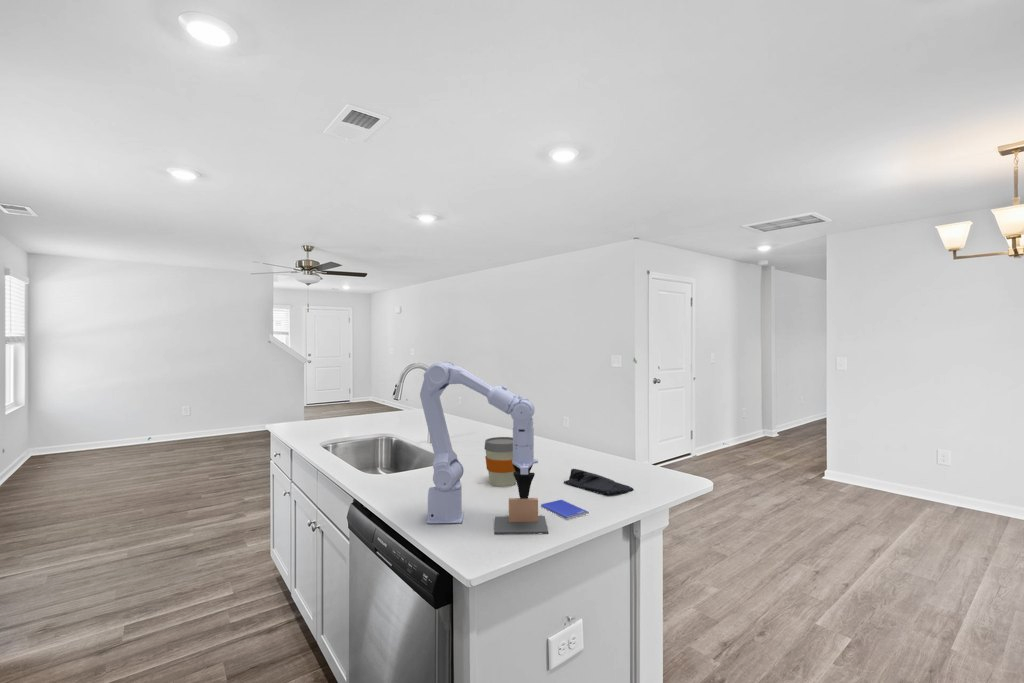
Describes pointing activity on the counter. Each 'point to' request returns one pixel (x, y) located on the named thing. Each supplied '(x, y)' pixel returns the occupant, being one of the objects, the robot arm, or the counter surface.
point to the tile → (523, 510)
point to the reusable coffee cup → (500, 461)
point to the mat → (519, 526)
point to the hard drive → (564, 509)
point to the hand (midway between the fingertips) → (523, 493)
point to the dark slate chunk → (595, 482)
